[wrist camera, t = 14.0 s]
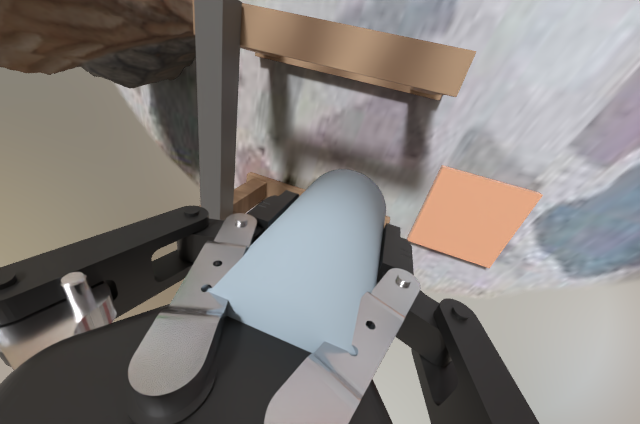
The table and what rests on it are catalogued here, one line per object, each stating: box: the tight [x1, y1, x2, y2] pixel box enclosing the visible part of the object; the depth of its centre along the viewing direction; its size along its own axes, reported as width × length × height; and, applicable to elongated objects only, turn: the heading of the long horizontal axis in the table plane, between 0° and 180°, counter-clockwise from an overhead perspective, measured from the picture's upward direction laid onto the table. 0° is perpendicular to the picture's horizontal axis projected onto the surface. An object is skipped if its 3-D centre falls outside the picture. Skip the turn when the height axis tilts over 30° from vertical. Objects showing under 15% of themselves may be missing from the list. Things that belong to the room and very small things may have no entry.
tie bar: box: [194, 0, 242, 221], centre depth 20 cm, size 2×19×2 cm, turn 168°
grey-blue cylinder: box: [206, 169, 386, 356], centre depth 11 cm, size 5×5×10 cm
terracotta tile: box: [407, 165, 543, 268], centre depth 28 cm, size 10×10×1 cm
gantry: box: [192, 0, 476, 227], centre depth 25 cm, size 20×20×11 cm
